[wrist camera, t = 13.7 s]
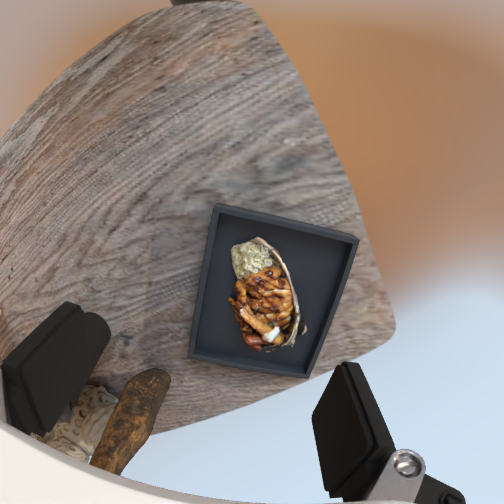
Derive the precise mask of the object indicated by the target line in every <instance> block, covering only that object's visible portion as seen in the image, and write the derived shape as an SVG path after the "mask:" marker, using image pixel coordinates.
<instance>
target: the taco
mask: <svg viewBox="0 0 504 504" xmlns="http://www.w3.org/2000/svg"><path fill="white" fill-rule="evenodd" d="M231 257H232V265H233V268H234V270H235V273H236V276H237V278H238V280H237V281H236V284H235V293H236V297H237V302H236V301H235V300H234V299H232V298H230V297H229V299H228V301H229V302H230V303H231V305H232V307H233V311H234V314H235V317H236V319H237V321H238V323H239V324H241V331H242V334H243V335H244V336H243V337H244V338H243V339H244V341H245V343H246V344H247V345H248V346H249V347H251V348H252V349H253V350H255V351H261V350H262V349H263V348H265V347H268V346H271V349H272V350H274V349H275V348H274V349H273V346H276V345H279V346H281V347H282V346H284V345H286V346H288V345H291V344H294V343H295V340H294V339H295V336H296V334H297V333H298V334H299V335H303V334H304V333H305V332H306V331H307V326H306V324H305V323H304V319H305V316H304V314H303V313H301V314H300V310H299V305H298V302H297V301H298V300H297V294H296V293H295V291H294V288H293V286H292V283H291V280H290V279H291V278H290V276H289V275H290V273H289V272H288V271H287V267H286V265H285V263H283V262H282V260H281V257H280V254H279V252H278V250H277V249H275V247H273V246H270V245H269V244H267V242H266V241H265V240H264V239H261V238H259V237H257V238H254V239H252V240H250V241H247V242H245V243H242V244H238V245H234V246H233V247H232V249H231ZM290 333H291V334H290ZM289 334H290V336H289V338H288V335H289ZM291 347H293V345H292V346H291ZM268 352H269V353H270V351H266V353H268Z"/></svg>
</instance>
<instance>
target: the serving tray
mask: <svg viewBox="0 0 504 504" xmlns="http://www.w3.org/2000/svg"><path fill="white" fill-rule="evenodd" d="M257 237H259V238H261V239H264V240H265V241H266V242H267V244H269V245H270V246H273V247H275V249H277V250H278V252H279V254H280V257H281V260H282V262H283V263H285V265H286V267H287V271H288V272H289V273H290V275H289V276H290V278H291V279H290V280H291V283H292V286H293V288H294V291H295V293H296V294H297V300H298V301H297V302H298V305H299V310H300V314H301V313H303V314H304V316H305V319H304V323H305V324H306V326H307V331H306V332H305V333H304V334H303V335H299V334H298V333H297V334H296V336H295V339H294V340H295V343H294V344H291V345H288V346H286V345H284V346H282V347H281V346H279V345H276V346H273V349H274V348H275V349H274V350H272V349H271V346H268V347H265V348H263V349H262V350H261V351H255V350H253V349H252V348H251V347H249V346H248V345H247V344H246V343H245V341H244V339H243V338H244V337H243V336H244V335H243V334H242V331H241V324H239V323H238V321H237V319H236V317H235V314H234V311H233V307H232V305H231V303H230V302H229V301H228V299H229V297H230V298H232V299H234V300H235V301H236V302H237V297H236V293H235V284H236V281H237V280H238V278H237V276H236V273H235V270H234V268H233V265H232V257H231V249H232V247H233V246H234V245H238V244H242V243H245V242H247V241H250V240H252V239H254V238H257ZM359 241H360V240H359V239H358V238H357V237H355V236H354V235H352V234H348V233H344V232H340V231H337V230H333V229H329V228H325V227H321V226H317V225H313V224H309V223H305V222H301V221H296V220H292V219H288V218H284V217H280V216H275V215H271V214H267V213H262V212H258V211H253V210H249V209H244V208H240V207H235V206H231V205H226V204H221V203H216V204H215V205H214V209H213V213H212V218H211V224H210V229H209V234H208V239H207V244H206V250H205V255H204V260H203V266H202V272H201V277H200V283H199V289H198V295H197V301H196V307H195V313H194V319H193V326H192V332H191V339H190V345H189V352H188V358H192V359H197V360H201V361H205V362H210V363H215V364H219V365H224V366H229V367H235V368H240V369H245V370H251V371H257V372H263V373H269V374H276V375H282V376H290V377H297V378H305V379H309V376H310V374H311V372H312V369H313V367H314V365H315V362H316V360H317V358H318V355H319V353H320V351H321V348H322V346H323V343H324V341H325V338H326V336H327V333H328V331H329V328H330V325H331V323H332V320H333V318H334V315H335V312H336V310H337V307H338V304H339V301H340V299H341V296H342V293H343V290H344V287H345V284H346V281H347V279H348V276H349V273H350V270H351V267H352V264H353V260H354V257H355V254H356V251H357V248H358V245H359ZM290 334H291V333H290ZM290 334H289V335H288V338H289V336H290ZM292 345H293V347H291V346H292ZM266 351H270V353H269V352H268V353H266Z"/></svg>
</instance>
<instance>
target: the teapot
mask: <svg viewBox="0 0 504 504" xmlns="http://www.w3.org/2000/svg"><path fill="white" fill-rule="evenodd" d="M117 403H118V398H116V397H115V396H114V395H112V394H111V393H108V392H107V391H106V389H105V387H103V386H98V388H96V386H93V385H85V387H84V389H83V391H82V393H81V395H80V397H79V399H78V401H77V403H76V405H75V407H74V415H73V417H72V419H71V420H70V421H69V422H66V423H59V422H57V423H56V425H55V426H54V428H53V430H52V431H51V432H50V433H48V432H47V433H46V434H45V436H44V438H42V437H41V436H39V435H38V437H37V439H36V440H38V441H40V442H42V443H44V444H46V445H48V446H50V447H52V448H54V449H56V450H58V451H60V452H62V453H64V454H66V455H68V456H71V457H73V458H75V459H77V460H80V461H82V462H84V463H88V460H89V456H90V455H91V456H92V455H93V453H94V451H95V449H96V447H97V445H98V443H99V442H100V439H101V437H102V434H103V431H104V429H105V427H106V425H107V423H108V420H109V418H110V416H111V415H112V412H113V410H114V408H115V406H116V404H117Z"/></svg>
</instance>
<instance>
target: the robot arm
mask: <svg viewBox="0 0 504 504" xmlns="http://www.w3.org/2000/svg"><path fill="white" fill-rule="evenodd" d="M89 369H90V363H89V355H88V347H87V337H86V326H85V314H84V311H82V310H81V307H80V306H79V305H77V304H74V303H71V302H68V301H66V302H64V303H63V304H62V305H61V306H60V307H59V308H58V309H56V310H55V311H54V312H53V313H52V314H51V315H50V316H49V317H48V318H47V319H45V320H44V321H43V322H42V323H41V324H40V325H39V326H38V327H37V328H36V329H35V330H34V331H33V332H32V333H31V334H29V335H28V336H27V337H26V338H25V339H24V340H23V341H22V342H21V343H20V344H19V345H18V346H17V347H16V348H15V349H14V350H13V351H12V352H11V353H10V354H9V355H8V356H7V357H6V358H5V359H4V360H3V364H2V365H1V366H0V504H265V503H249V502H239V501H229V500H222V499H214V498H208V497H202V496H196V495H191V494H186V493H181V492H176V491H172V490H168V489H163V488H159V487H156V486H152V485H148V484H144V483H141V482H138V481H134V480H131V479H128V478H125V477H122V476H119V475H116V474H113V473H110V472H107V471H105V470H102V469H99V468H97V467H94V466H92V465H89V464H87V463H84V462H82V461H80V460H77V459H75V458H73V457H71V456H68V455H66V454H64V453H62V452H60V451H58V450H56V449H54V448H52V447H50V446H48V445H46V444H44V443H42V442H40V441H38V440H36V439H34V438H32V437H31V436H29V435H30V434H31V432H33V433H35V434H37V435H39V436H41V437H42V438H44V436H45V434H46V433H47V432H48V433H50V432H51V431H52V430H53V428H54V426H55V425H56V423H57V421H58V420H59V418H60V416H61V415H62V413H63V412H64V410H65V408H66V407H67V405H68V404H69V402H70V400H71V399H72V397H73V396H74V394H75V393H76V391H77V389H78V388H79V386H80V385H81V383H82V382H83V380H84V379H85V377H86V376H87V374H88V372H89ZM312 425H313V430H314V435H315V440H316V446H317V451H318V456H319V462H320V467H321V473H322V478H323V484H324V489H325V490H326V491H329V495H330V498H340V497H342V498H343V502H342V503H327V504H466V502H465V498H464V496H463V495H462V494H461V492H460V491H458V490H456V489H454V488H452V487H450V486H448V485H446V484H444V483H442V482H440V481H438V480H436V479H434V478H432V477H430V476H428V475H427V474H425V470H426V466H425V462H424V460H423V458H422V457H421V456H420V455H419V454H417V453H416V452H414V451H412V450H409V449H400V450H397V451H396V448H395V446H394V442H393V440H392V437H391V435H390V433H389V430H388V428H387V426H386V423H385V421H384V418H383V416H382V414H381V411H380V409H379V407H378V405H377V402H376V400H375V398H374V396H373V394H372V391H371V389H370V387H369V384H368V382H367V380H366V378H365V376H364V373H363V371H362V369H361V367H360V365H359V364H358V363H354V362H342V363H341V365H337V366H336V368H335V370H334V372H333V374H332V376H331V378H330V380H329V382H328V384H327V386H326V388H325V391H324V392H323V394H322V396H321V398H320V400H319V402H318V404H317V406H316V408H315V410H314V411H313V414H312Z"/></svg>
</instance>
